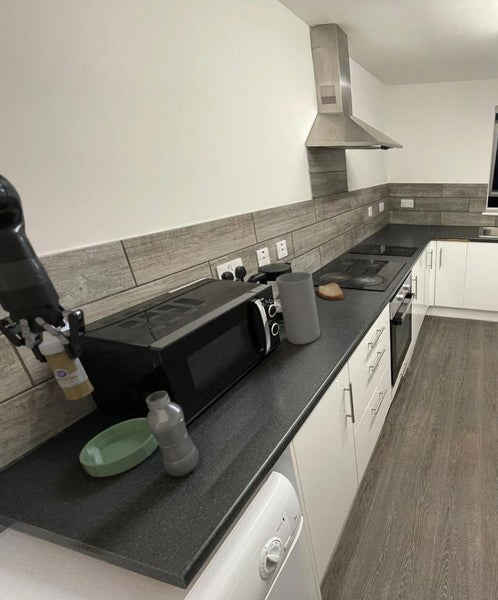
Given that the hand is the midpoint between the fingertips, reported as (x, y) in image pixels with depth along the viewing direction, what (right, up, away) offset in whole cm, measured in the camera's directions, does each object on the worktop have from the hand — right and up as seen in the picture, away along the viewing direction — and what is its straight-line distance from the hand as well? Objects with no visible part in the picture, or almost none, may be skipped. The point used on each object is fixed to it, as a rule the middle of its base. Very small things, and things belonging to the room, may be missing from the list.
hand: (61, 358), depth 67 cm
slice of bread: (+35, +16, +103) cm, 110 cm away
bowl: (+5, -24, +10) cm, 27 cm away
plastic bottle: (+22, -26, +5) cm, 35 cm away
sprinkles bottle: (0, -9, +4) cm, 10 cm away
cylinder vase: (+33, -3, +60) cm, 68 cm away
